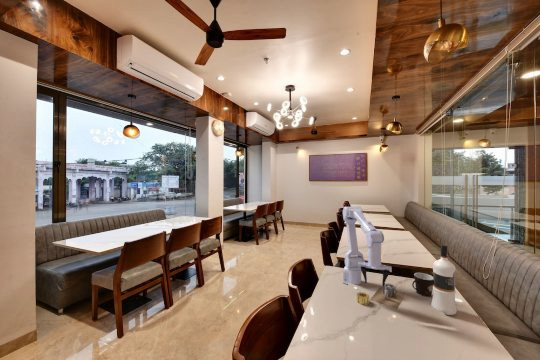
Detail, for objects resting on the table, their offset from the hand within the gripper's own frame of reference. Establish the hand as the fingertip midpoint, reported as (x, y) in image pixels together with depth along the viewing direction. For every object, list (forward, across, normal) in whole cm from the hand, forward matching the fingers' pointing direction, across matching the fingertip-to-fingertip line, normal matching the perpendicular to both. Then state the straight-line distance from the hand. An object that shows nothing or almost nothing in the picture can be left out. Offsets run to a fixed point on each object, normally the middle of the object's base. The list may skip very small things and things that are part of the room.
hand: (374, 283), depth 111 cm
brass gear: (+10, -5, -3) cm, 11 cm away
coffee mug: (+10, +22, +18) cm, 30 cm away
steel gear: (+8, +7, +10) cm, 15 cm away
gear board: (+10, +6, +7) cm, 14 cm away
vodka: (+10, +29, +6) cm, 31 cm away
